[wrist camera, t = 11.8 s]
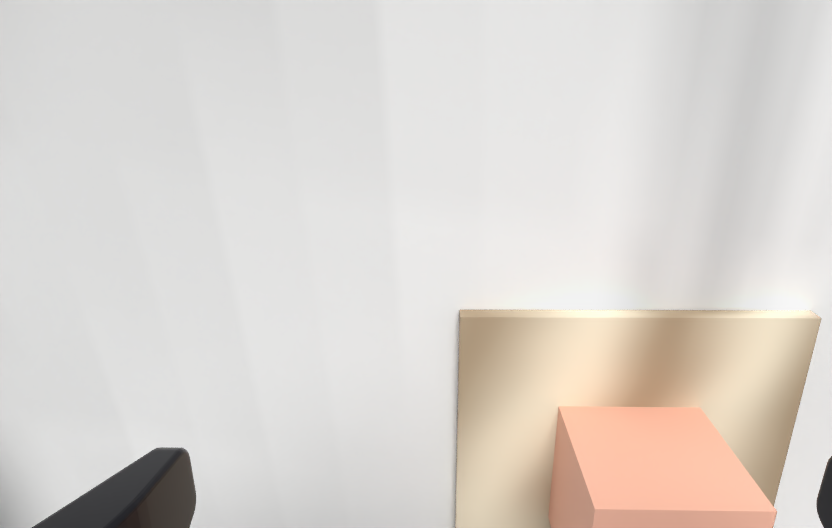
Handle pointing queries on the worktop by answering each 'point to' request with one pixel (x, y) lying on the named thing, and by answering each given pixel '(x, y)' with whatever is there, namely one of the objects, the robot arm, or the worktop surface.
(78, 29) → the worktop surface
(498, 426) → the birch board
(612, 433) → the coral cube
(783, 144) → the worktop surface
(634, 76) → the worktop surface
